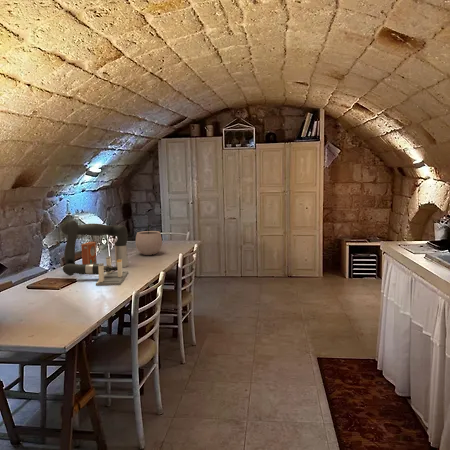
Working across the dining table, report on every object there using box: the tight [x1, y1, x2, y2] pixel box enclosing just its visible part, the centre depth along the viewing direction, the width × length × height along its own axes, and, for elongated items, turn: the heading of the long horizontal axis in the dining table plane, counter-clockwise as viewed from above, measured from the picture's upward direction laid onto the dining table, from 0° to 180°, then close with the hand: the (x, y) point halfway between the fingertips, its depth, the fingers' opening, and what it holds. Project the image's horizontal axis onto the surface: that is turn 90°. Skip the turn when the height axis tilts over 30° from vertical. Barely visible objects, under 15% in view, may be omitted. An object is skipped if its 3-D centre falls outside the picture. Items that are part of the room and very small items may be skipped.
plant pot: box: [135, 223, 163, 256], centre depth 393 cm, size 24×24×30 cm
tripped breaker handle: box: [117, 259, 123, 277], centre depth 301 cm, size 3×5×12 cm, turn 4°
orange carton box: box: [80, 241, 98, 264], centre depth 331 cm, size 21×7×15 cm
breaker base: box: [95, 255, 129, 287], centre depth 301 cm, size 16×35×14 cm, turn 4°
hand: (118, 268), depth 301 cm, fingers closed
